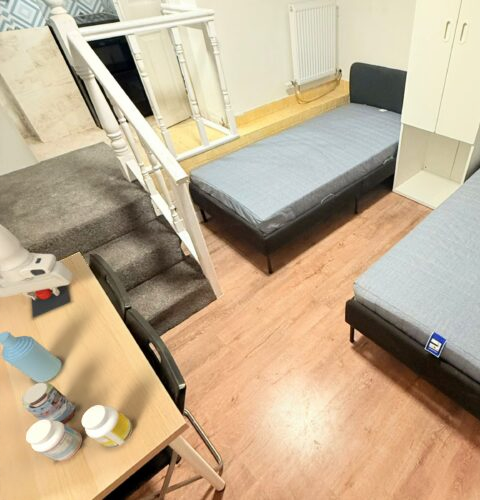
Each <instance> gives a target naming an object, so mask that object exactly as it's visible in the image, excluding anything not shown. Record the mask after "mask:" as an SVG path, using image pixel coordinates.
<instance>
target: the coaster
mask: <svg viewBox="0 0 480 500" xmlns="http://www.w3.org/2000/svg"><path fill="white" fill-rule="evenodd" d="M57 289H58V290H59V291H60V293H59V295H58V296H52V295H51V296H50V297H48V298H46V299H38V300H34V299H32V298H31V310H32V317H33V318H36V317H38V316H40V315H43V314H45V313H48V312H50V311H52V310H55V309H57V308H60V307H62V306H64V305H66V304H69V303H70V297H69V291H68V285H64V286H59V287H57Z"/></svg>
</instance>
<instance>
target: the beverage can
mask: <svg viewBox="0 0 480 500" xmlns="http://www.w3.org/2000/svg"><path fill="white" fill-rule="evenodd" d="M21 401H22V407H23V408H24V409H25V410H26V411H28V412H29V413H31V414H32V415H33V416H34V417H36V418H37V419H38V421H40V420H43V419H46V420H49V421H59V422H61V423H63V424H65V425H67V424H68V423H69V422H70V421H71V420H72V419H73V417H74V415H76V412H77V411H76V409H77V408H76V406H75V405H74V404H73V403H72V402H71V401H70V400H69V399H68V398H67V397H66V396H65V395H64V394H63V393H62V392H61V391H60V390H58V388H56V387H55V386H54V385H53V384H51V383H46V382H42V383H39V382H37V383H35V384H33V385H32V386H31V387H29V388H28V389H27V390H26V391H25V392H24V393H23V395H22V397H21Z"/></svg>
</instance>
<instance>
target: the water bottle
mask: <svg viewBox="0 0 480 500" xmlns="http://www.w3.org/2000/svg"><path fill="white" fill-rule="evenodd" d="M0 345H2V346H3V347H2V351H1V357H2V359H3V360H4V362H6V363H8V364H10V365H11V366H12V367H14V368H15V369H17V370H18V371H20V372H21V373H23V374H24V375H26V377H28V378H30V379H32V381H34V382H36V383H46V382H48V381H50V380H51V379H53V378H55V377H56V376H57V375H58V373H59V372H60V371H61V369H62V364H63V363H62V361H61V360H60V359H59V358H58V357H57V356H56V355H54V353H52V352H51V351H49V350H48V349H47V348H46V347H45V346H43V345H42V344H41V343H39V342H38V341H37V340H36V339H35V338H34V337H32V336H29V335H22V336H21V335H20V336H14V335H13V334H12V333H11V332H9V331H3V332H0Z"/></svg>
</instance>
